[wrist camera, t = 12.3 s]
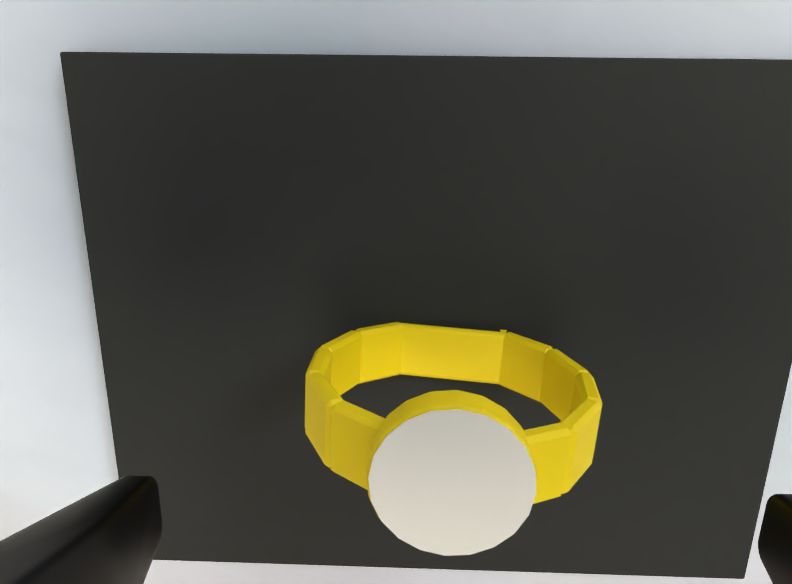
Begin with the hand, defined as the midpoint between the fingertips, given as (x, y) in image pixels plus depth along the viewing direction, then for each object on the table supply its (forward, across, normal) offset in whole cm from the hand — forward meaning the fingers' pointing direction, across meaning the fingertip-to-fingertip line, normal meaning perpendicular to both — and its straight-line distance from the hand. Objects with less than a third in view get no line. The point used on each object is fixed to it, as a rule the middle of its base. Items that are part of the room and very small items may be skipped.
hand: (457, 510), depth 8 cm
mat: (+7, 0, 0) cm, 7 cm away
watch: (+7, 0, 0) cm, 7 cm away
